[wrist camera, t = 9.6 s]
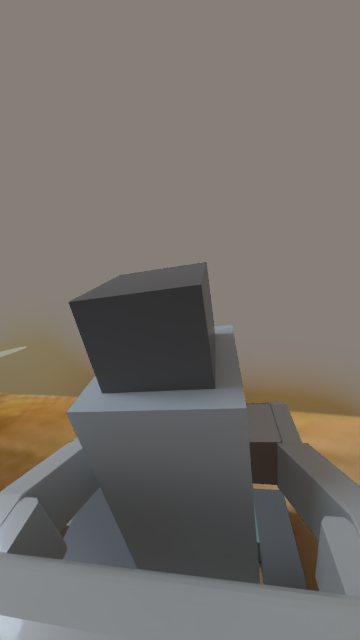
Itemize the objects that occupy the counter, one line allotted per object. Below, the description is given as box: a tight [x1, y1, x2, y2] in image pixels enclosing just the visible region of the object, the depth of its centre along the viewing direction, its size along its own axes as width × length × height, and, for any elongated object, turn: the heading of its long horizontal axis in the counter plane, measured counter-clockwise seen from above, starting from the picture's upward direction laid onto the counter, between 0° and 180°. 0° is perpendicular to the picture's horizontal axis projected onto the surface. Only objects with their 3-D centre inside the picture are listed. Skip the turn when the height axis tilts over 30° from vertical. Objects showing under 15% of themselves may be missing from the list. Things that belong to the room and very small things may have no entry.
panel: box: [59, 487, 308, 590], centre depth 14 cm, size 24×12×2 cm, turn 82°
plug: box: [66, 262, 260, 584], centre depth 8 cm, size 4×4×13 cm
